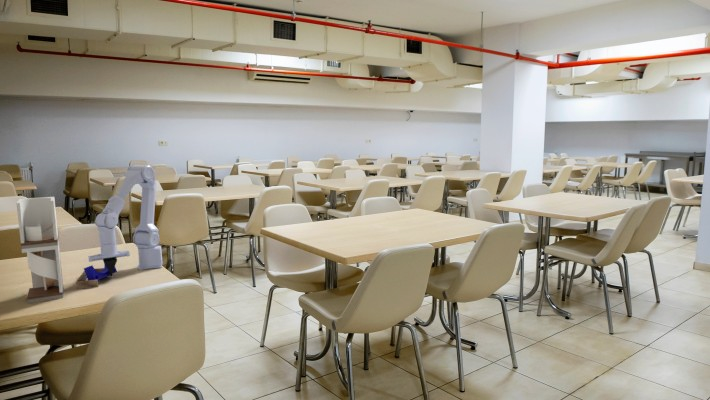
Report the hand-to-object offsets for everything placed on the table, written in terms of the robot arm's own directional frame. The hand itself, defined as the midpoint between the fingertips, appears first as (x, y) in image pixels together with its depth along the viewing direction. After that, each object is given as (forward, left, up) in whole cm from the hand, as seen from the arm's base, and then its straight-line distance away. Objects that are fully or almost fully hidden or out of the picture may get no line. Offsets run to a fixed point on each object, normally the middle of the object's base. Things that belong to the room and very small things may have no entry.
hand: (111, 276), depth 199 cm
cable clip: (+3, -1, -1) cm, 3 cm away
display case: (+19, +14, -1) cm, 24 cm away
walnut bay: (+6, 0, -1) cm, 7 cm away
